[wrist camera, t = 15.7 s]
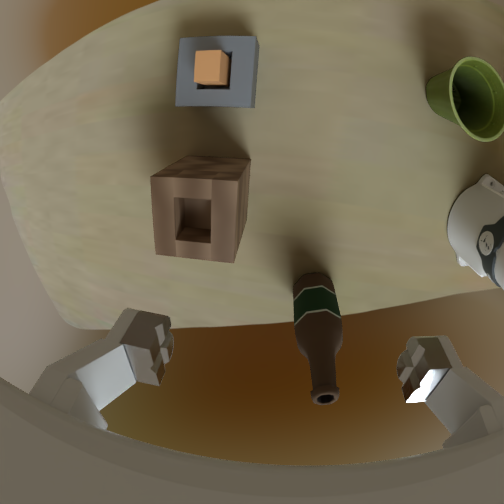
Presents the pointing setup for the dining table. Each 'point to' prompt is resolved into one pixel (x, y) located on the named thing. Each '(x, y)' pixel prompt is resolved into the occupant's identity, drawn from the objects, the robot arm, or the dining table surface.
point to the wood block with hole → (200, 207)
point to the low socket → (242, 72)
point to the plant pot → (470, 98)
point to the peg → (212, 68)
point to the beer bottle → (318, 332)
